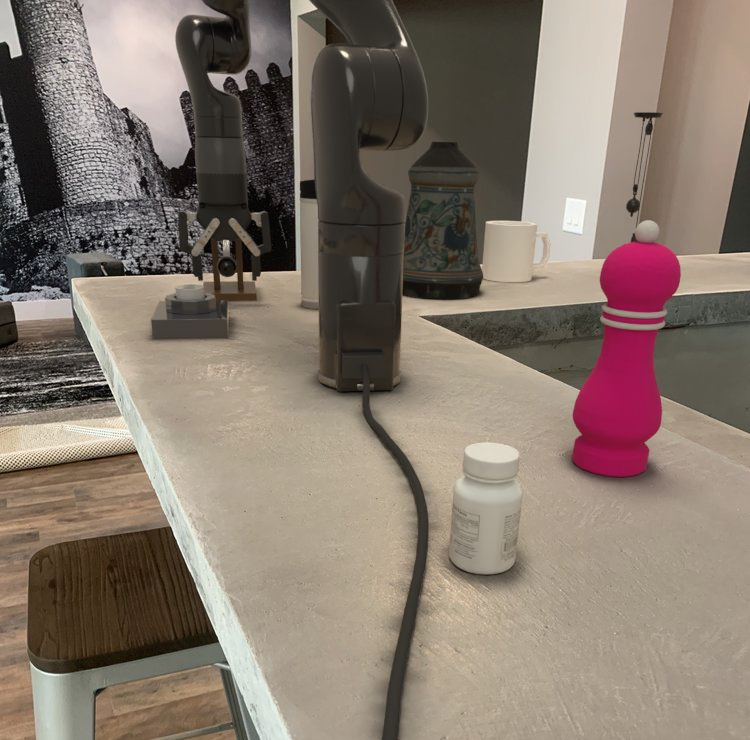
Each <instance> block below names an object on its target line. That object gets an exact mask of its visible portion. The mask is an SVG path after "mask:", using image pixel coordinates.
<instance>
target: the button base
mask: <svg viewBox="0 0 750 740" xmlns="http://www.w3.org/2000/svg"><path fill="white" fill-rule="evenodd" d="M229 314H230V313H229V301H228V300H225V301H216V295H213V294H210V293H205V298H203V299H196V300H182V299H176V292H175V293H171V294H167V295H165V297H164V300H159V301H158V304H157V306H156V308H155V310H154V312H153V315H152V317H151V319H150V323H151V333H152V335H151V336H152V340H190V339H191V340H198V339H199V340H201V339H202V340H203V339H204V340H207V339H229V327H230V319H229V318H230V315H229Z"/></svg>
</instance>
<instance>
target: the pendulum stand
mask: <svg viewBox="0 0 750 740" xmlns="http://www.w3.org/2000/svg"><path fill="white" fill-rule="evenodd" d="M234 242H235V259H236V260H235V262H236V264H237V271H236V277H237V278H236V280H235V281H234V280H233V281H230V280H229V281H221V274H220V273H219V272H218V270H217V263H218V261H219V259H220V253H219V252H220V251H219V241H215V240H213V239H211V238H210V245H211V247H210V248H211V261H212V276H213V277H212V278H213V281H203V284H202V286H204V287H205V293H210V294H213V295H216V301H225V300H228V302H257V300H258V299H257V297H258V295H257V287H256V281H252V280H251V281H249V280H248V281H244V265H243V264H244V263H243V247H242V243H243V242H242V240H241V238H239V239H238V240H235V241H234Z"/></svg>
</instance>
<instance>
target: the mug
mask: <svg viewBox="0 0 750 740" xmlns="http://www.w3.org/2000/svg"><path fill="white" fill-rule="evenodd" d="M537 238H541V240H542V241H541V242H542V244H543V245H542V256H541V258H540V261H539V263H534V258H535V251H536V250H535V249H536V242H537V241H536V240H537ZM551 245H552V244H551V241H550V239H549V234H548V233H547V232H543V231H540V232H539V231H538V223H536V222H531V221H521V220H487V221H485V226H484V239H483V252H482V264H481V269H482V272H483V279H484V280H486V281H491V282H500V283H526V282H530V281H532V279H533V270H545V269H546V267H547V265H548V262H549V260H550V257H551ZM483 279H482V280H483Z"/></svg>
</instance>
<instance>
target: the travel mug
mask: <svg viewBox="0 0 750 740" xmlns="http://www.w3.org/2000/svg"><path fill="white" fill-rule="evenodd" d="M299 192H300V193H299V201H300V202H299V235H300V240H299V241H300V244H299V245H300V247H299V248H300V294H301V298H300V299H301V301H300V303H301V307H302V308H305V309H309V310H319V285H318V204H317V197H316V190H315V180H314V179H306V180H305V179H304V180H300V181H299Z"/></svg>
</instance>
